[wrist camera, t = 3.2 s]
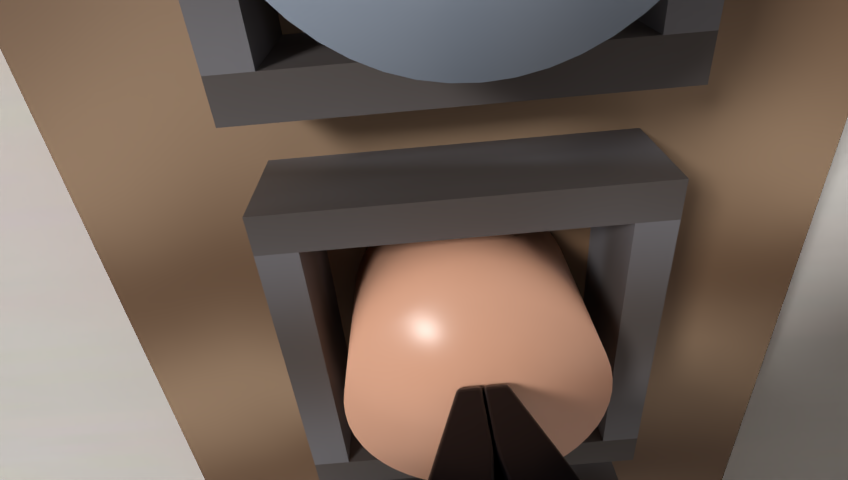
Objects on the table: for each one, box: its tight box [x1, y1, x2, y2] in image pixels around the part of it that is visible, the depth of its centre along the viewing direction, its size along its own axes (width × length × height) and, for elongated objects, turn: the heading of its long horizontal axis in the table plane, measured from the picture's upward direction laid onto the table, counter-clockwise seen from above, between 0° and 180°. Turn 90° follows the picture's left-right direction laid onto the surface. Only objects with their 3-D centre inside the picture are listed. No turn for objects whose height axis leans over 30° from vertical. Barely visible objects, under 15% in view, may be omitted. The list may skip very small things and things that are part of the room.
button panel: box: [0, 0, 848, 480], centre depth 12 cm, size 26×14×4 cm, turn 4°
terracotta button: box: [344, 231, 613, 480], centre depth 11 cm, size 4×4×3 cm
